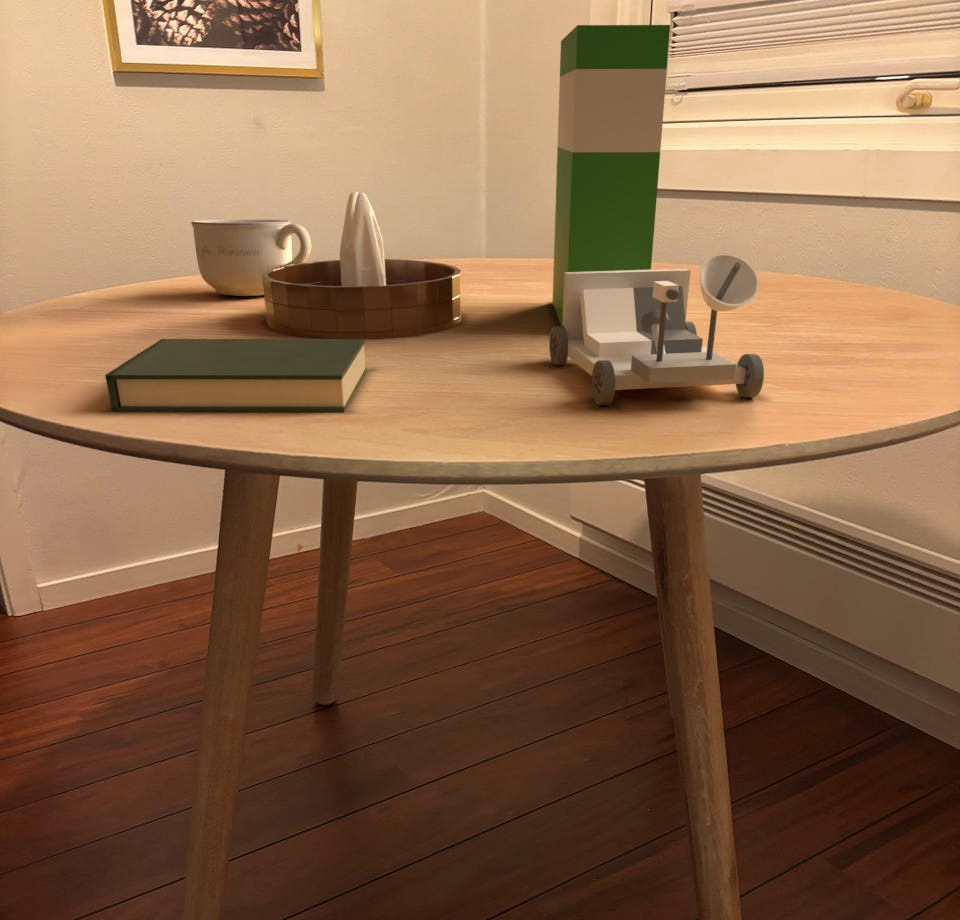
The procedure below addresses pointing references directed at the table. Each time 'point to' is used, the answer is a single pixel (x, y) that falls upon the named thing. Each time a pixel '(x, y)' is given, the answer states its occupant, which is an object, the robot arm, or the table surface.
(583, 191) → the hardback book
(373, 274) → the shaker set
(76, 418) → the table surface
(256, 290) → the teacup
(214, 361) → the green book
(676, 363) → the toy car
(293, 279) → the bowl
